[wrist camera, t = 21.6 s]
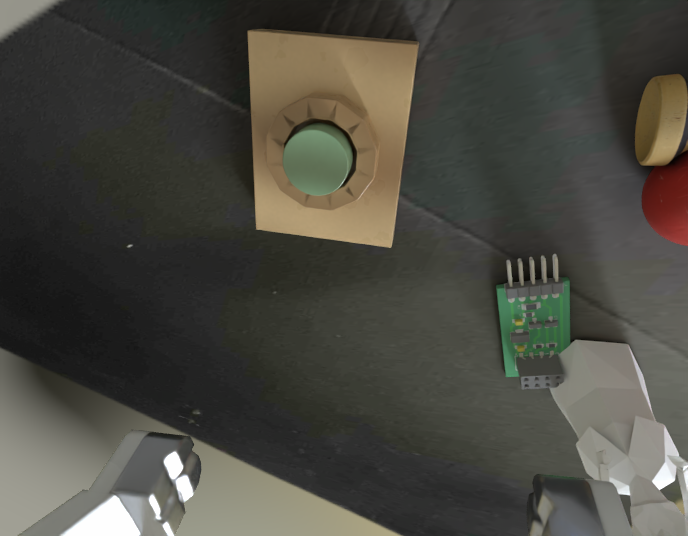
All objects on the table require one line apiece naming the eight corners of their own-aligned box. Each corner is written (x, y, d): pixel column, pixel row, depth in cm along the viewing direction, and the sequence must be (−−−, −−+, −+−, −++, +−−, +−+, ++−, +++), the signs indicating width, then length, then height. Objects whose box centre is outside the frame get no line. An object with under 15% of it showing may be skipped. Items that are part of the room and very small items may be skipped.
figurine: (617, 323, 34) (776, 587, 19) (653, 393, 37) (818, 673, 22) (526, 356, 37) (601, 610, 22) (566, 419, 40) (658, 684, 24)
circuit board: (497, 278, 31) (577, 269, 29) (492, 255, 33) (566, 245, 32) (509, 397, 37) (577, 393, 35) (504, 369, 39) (567, 365, 38)
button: (290, 119, 27) (281, 125, 26) (355, 126, 27) (350, 133, 25) (290, 182, 29) (282, 191, 28) (350, 189, 29) (346, 199, 27)
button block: (259, 28, 28) (235, 31, 25) (419, 41, 27) (416, 46, 24) (265, 217, 35) (246, 240, 32) (393, 234, 34) (389, 260, 31)
